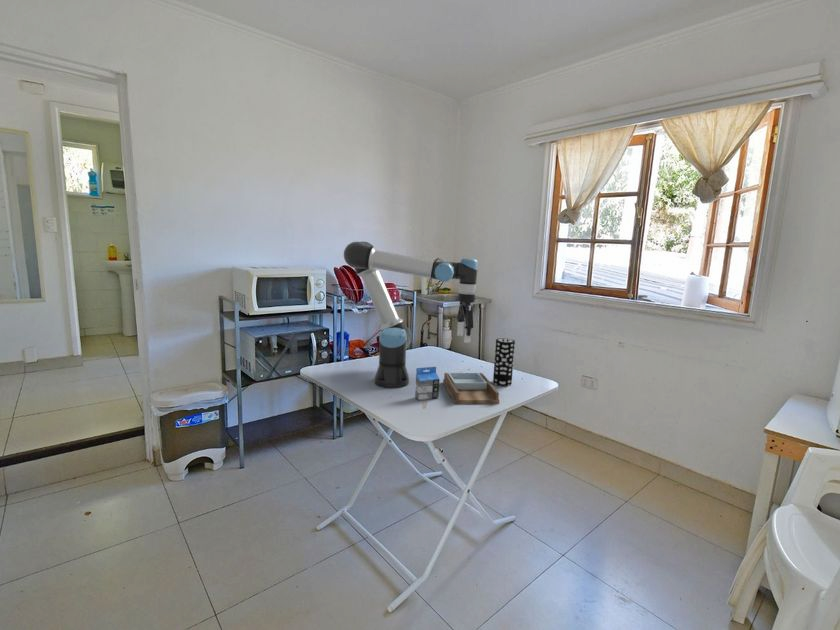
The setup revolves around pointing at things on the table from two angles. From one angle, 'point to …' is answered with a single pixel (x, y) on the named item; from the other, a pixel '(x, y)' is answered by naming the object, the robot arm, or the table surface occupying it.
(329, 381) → the table surface
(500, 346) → the spotted tube
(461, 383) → the shallow square tray
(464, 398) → the bay
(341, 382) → the table surface
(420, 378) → the label tape cartridge
